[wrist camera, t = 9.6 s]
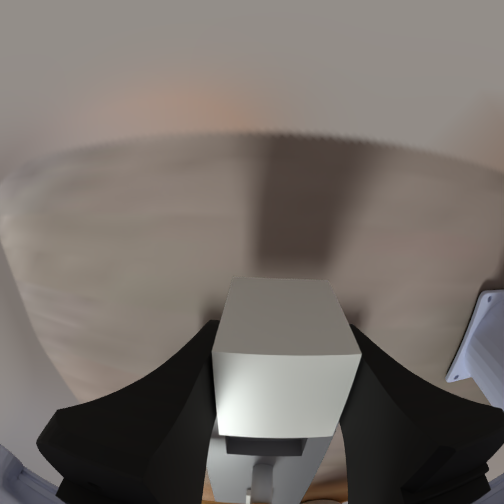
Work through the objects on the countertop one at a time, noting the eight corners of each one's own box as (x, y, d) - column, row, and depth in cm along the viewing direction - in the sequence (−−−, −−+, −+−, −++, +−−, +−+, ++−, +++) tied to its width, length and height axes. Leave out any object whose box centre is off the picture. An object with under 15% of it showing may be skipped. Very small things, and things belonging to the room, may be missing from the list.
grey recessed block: (346, 349, 16) (371, 424, 10) (297, 488, 23) (299, 530, 17) (198, 344, 16) (171, 419, 10) (218, 485, 23) (211, 526, 17)
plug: (328, 279, 12) (361, 354, 7) (316, 354, 13) (332, 436, 8) (233, 276, 12) (211, 351, 7) (233, 351, 13) (219, 434, 8)
